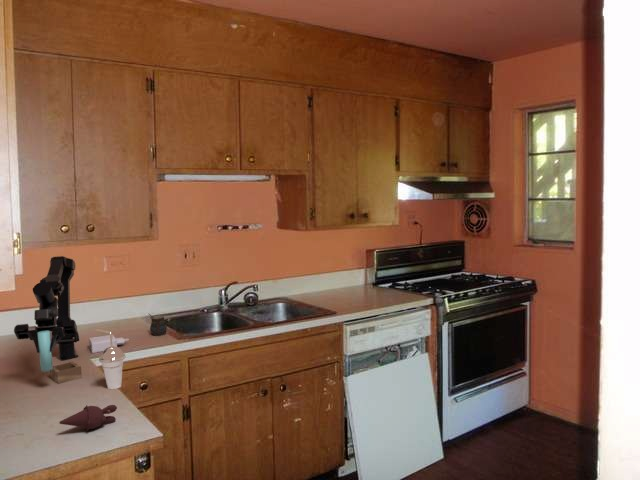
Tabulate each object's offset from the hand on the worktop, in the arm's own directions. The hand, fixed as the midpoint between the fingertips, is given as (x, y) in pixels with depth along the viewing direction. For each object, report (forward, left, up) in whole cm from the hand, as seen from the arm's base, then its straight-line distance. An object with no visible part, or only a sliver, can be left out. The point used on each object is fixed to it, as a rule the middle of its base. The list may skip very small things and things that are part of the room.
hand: (44, 351), depth 185 cm
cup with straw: (+13, +17, -13) cm, 26 cm away
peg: (-1, +1, -7) cm, 7 cm away
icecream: (+40, -1, -14) cm, 42 cm away
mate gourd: (-34, +57, -13) cm, 67 cm away
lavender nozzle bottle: (-31, +34, -14) cm, 48 cm away
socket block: (-8, +8, -13) cm, 18 cm away
